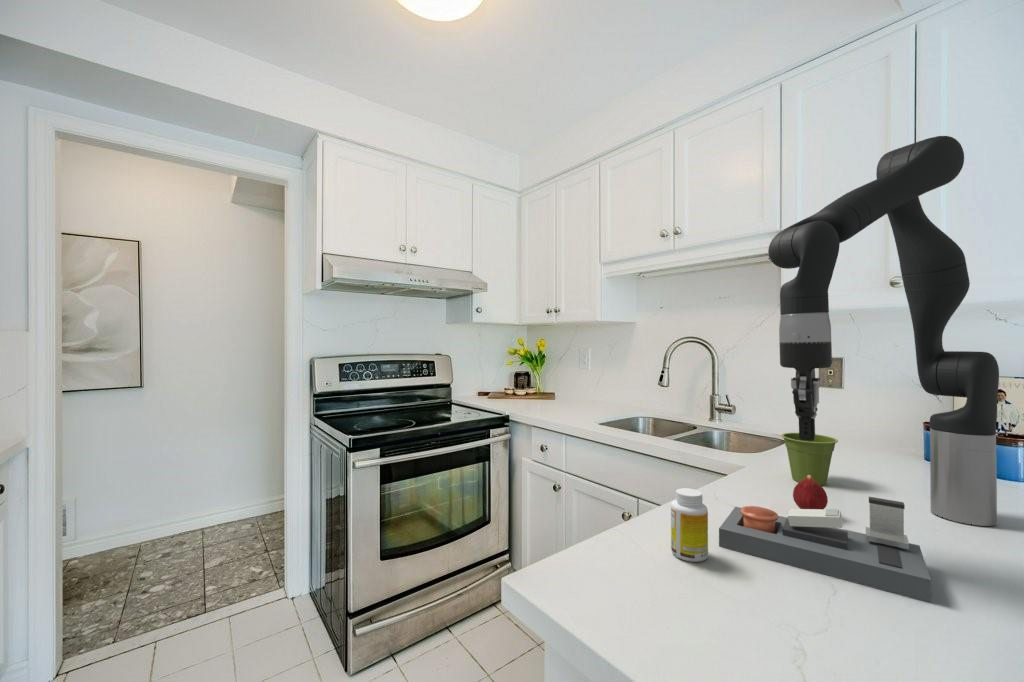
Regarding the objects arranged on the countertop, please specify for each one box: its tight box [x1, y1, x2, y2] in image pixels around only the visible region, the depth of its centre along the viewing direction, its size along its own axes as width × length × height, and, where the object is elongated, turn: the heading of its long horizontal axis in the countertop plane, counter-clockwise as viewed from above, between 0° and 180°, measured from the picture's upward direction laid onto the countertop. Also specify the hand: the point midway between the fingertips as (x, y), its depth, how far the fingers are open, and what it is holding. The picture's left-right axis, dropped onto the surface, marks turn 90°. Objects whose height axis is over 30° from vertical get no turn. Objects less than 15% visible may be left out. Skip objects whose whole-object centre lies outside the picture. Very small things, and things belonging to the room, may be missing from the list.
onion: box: [792, 475, 829, 510], centre depth 87 cm, size 6×6×8 cm
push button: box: [740, 505, 779, 534], centre depth 76 cm, size 6×6×4 cm
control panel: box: [718, 506, 932, 604], centre depth 71 cm, size 13×26×4 cm, turn 52°
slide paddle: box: [865, 496, 909, 549], centre depth 68 cm, size 4×5×6 cm
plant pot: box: [781, 432, 839, 486], centre depth 110 cm, size 12×12×11 cm
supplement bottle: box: [670, 487, 709, 563], centre depth 70 cm, size 6×6×10 cm
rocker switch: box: [787, 508, 844, 529], centre depth 71 cm, size 4×7×2 cm, turn 52°
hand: (807, 439), depth 75 cm, fingers closed
